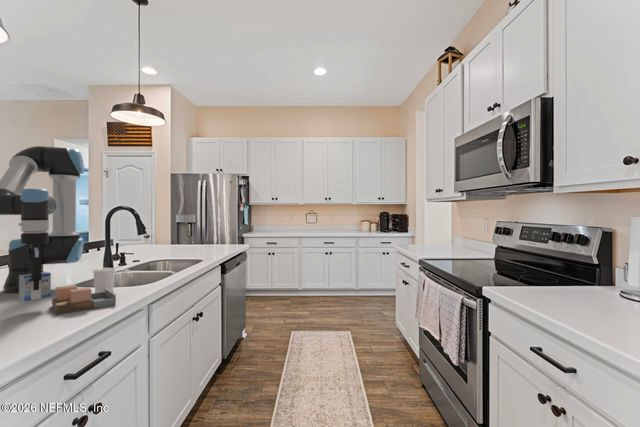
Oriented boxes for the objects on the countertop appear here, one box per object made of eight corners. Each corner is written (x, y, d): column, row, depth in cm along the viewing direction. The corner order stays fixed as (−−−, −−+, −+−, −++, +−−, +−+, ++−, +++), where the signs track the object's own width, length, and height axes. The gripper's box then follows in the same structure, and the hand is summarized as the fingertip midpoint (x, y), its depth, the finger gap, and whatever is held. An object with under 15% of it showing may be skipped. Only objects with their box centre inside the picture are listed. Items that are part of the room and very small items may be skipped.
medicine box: (23, 301, 114) (23, 276, 114) (18, 299, 116) (18, 274, 116) (51, 296, 121) (51, 272, 120) (46, 294, 123) (46, 271, 123)
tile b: (69, 300, 121) (69, 289, 121) (88, 297, 125) (88, 287, 125) (71, 303, 117) (71, 292, 117) (91, 300, 122) (91, 289, 122)
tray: (85, 300, 131) (85, 290, 131) (106, 297, 136) (106, 287, 136) (93, 308, 121) (93, 297, 121) (115, 304, 126) (115, 294, 126)
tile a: (55, 297, 124) (55, 287, 124) (75, 295, 128) (75, 284, 128) (57, 300, 121) (57, 289, 121) (77, 297, 125) (77, 286, 125)
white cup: (104, 294, 141) (104, 271, 140) (88, 293, 142) (88, 270, 142) (119, 290, 148) (119, 268, 148) (104, 289, 150) (104, 267, 150)
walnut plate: (52, 306, 124) (52, 298, 124) (86, 300, 131) (86, 293, 131) (57, 314, 114) (57, 305, 114) (93, 308, 121) (93, 300, 121)
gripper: (19, 231, 122) (19, 294, 122) (22, 234, 109) (22, 304, 109) (45, 230, 127) (45, 290, 128) (51, 233, 114) (51, 300, 115)
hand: (35, 297), depth 118 cm, fingers closed on medicine box, 5 cm apart
